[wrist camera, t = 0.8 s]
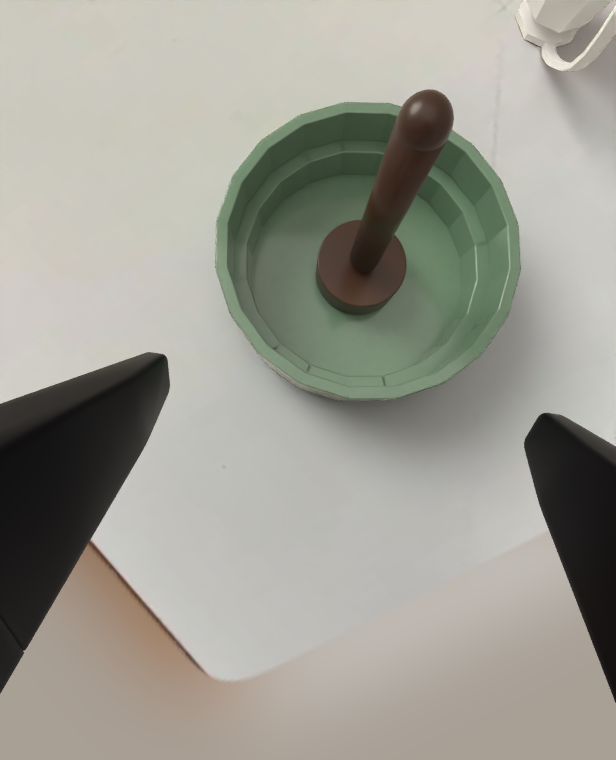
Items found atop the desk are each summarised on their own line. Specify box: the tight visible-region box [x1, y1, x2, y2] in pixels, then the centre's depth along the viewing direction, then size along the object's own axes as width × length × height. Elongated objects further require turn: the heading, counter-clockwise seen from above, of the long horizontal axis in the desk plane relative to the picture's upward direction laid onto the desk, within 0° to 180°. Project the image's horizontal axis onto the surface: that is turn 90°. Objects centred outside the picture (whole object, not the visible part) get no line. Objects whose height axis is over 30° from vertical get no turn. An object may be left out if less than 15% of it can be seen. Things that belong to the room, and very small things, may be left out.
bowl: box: [215, 102, 521, 401], centre depth 20 cm, size 15×15×4 cm
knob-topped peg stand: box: [316, 90, 454, 315], centre depth 16 cm, size 5×5×12 cm
